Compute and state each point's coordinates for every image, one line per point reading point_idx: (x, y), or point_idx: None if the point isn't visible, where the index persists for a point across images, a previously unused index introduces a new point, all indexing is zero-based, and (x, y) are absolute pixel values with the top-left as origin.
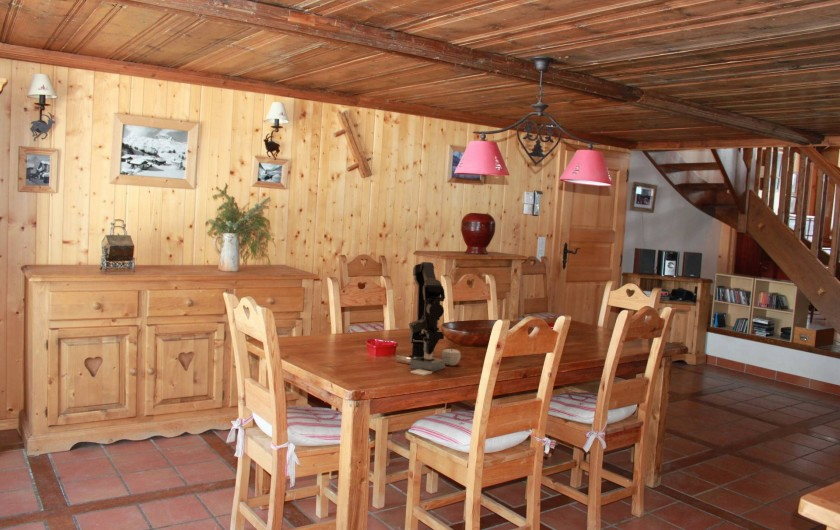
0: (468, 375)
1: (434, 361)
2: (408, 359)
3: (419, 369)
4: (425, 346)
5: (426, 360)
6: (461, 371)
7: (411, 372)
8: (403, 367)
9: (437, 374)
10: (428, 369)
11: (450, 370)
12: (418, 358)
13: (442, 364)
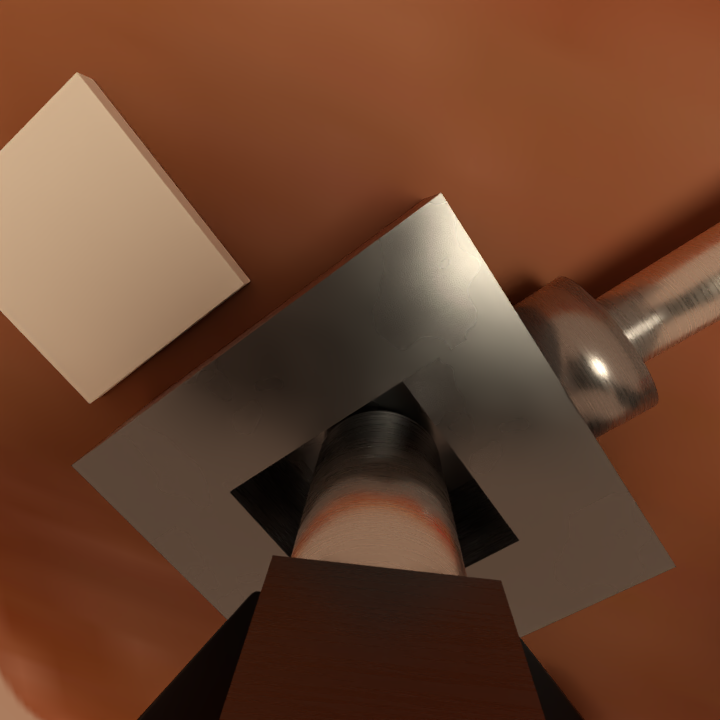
0: (58, 701)
1: (230, 559)
2: (693, 253)
3: (211, 275)
4: (313, 717)
5: (324, 471)
6: None
7: (77, 88)
8: (468, 88)
9: (55, 439)
10: (165, 391)
11: None
12: (481, 385)
13: None
